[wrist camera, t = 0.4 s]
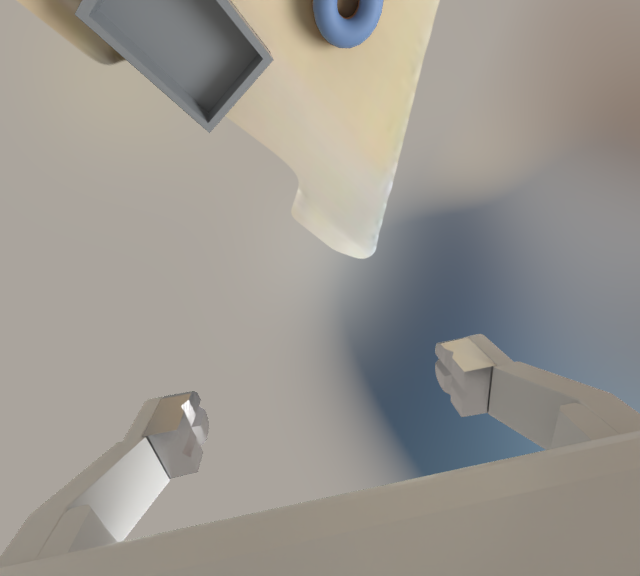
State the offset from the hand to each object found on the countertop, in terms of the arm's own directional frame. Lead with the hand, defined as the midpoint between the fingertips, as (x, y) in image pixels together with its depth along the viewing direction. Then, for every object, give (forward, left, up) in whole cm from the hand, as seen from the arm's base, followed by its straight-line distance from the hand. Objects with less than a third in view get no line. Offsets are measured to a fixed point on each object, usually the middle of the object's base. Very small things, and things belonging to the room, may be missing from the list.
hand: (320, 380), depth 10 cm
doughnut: (+6, +14, -53) cm, 55 cm away
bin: (-6, -5, -52) cm, 53 cm away
